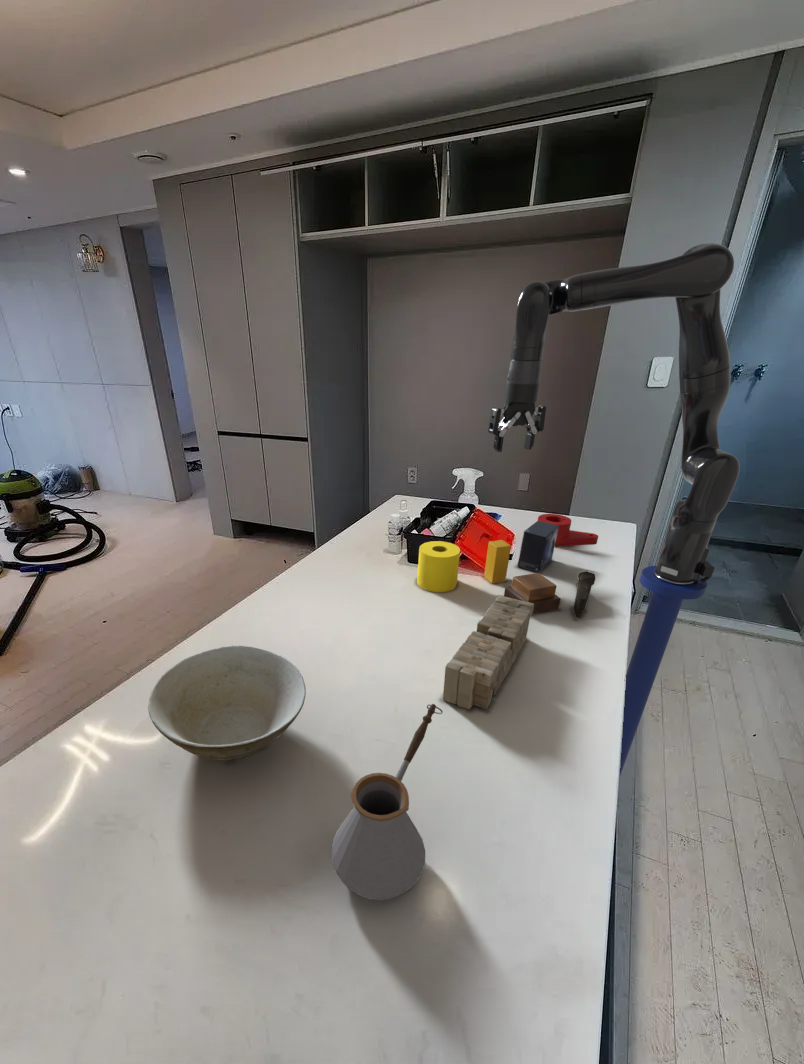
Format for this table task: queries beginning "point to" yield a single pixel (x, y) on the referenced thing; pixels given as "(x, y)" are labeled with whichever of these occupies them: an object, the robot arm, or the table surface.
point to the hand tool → (583, 591)
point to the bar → (497, 561)
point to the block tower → (487, 654)
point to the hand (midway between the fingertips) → (513, 450)
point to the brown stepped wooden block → (534, 592)
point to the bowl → (227, 701)
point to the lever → (568, 531)
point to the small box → (537, 546)
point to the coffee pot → (381, 833)
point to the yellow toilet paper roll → (438, 566)
